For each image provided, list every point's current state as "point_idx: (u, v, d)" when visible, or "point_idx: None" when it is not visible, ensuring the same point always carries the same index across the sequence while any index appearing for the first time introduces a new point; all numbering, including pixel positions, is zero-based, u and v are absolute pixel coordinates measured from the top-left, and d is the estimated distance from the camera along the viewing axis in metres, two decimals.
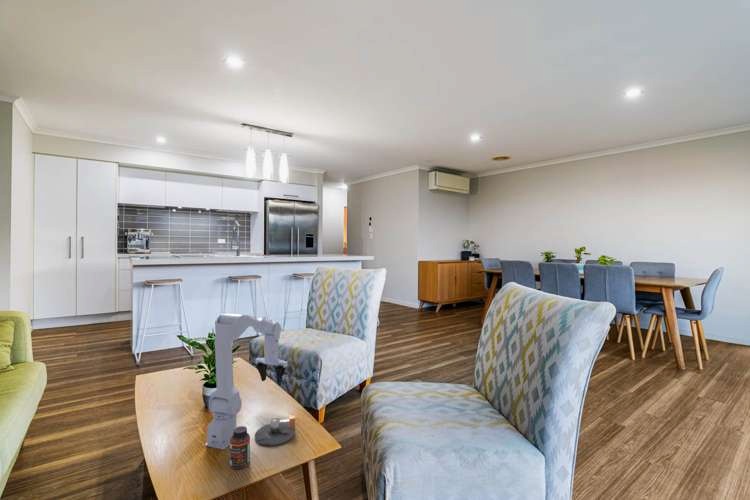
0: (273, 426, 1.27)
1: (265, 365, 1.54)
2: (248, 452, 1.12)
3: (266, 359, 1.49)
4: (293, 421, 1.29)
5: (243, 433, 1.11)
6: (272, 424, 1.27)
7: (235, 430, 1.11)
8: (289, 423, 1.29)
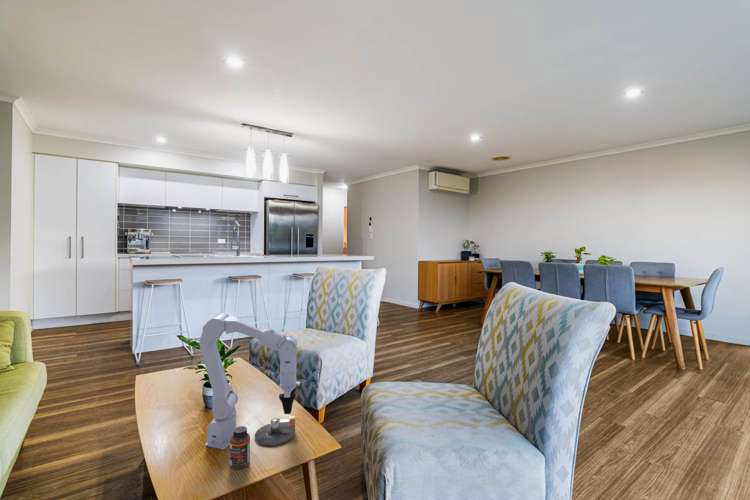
0: (273, 426, 1.27)
1: None
2: (248, 452, 1.12)
3: None
4: (293, 421, 1.29)
5: (243, 433, 1.11)
6: (272, 424, 1.27)
7: (235, 430, 1.11)
8: (289, 423, 1.29)
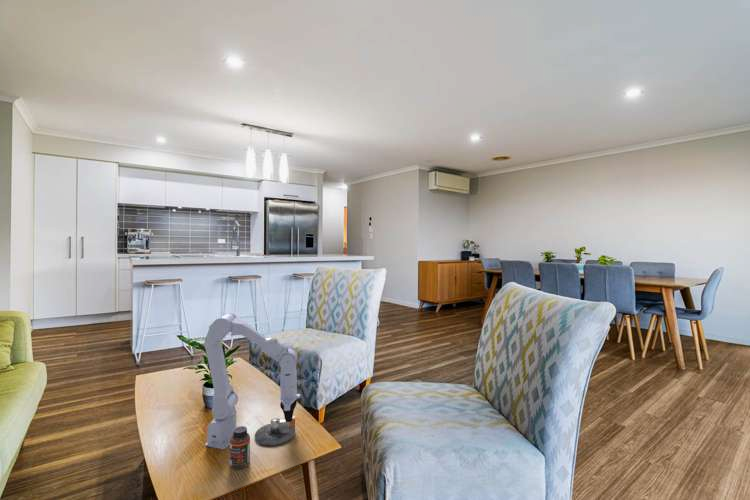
0: (273, 426, 1.27)
1: None
2: (248, 452, 1.12)
3: None
4: (293, 421, 1.29)
5: (243, 433, 1.11)
6: (272, 424, 1.27)
7: (235, 430, 1.11)
8: (289, 423, 1.29)
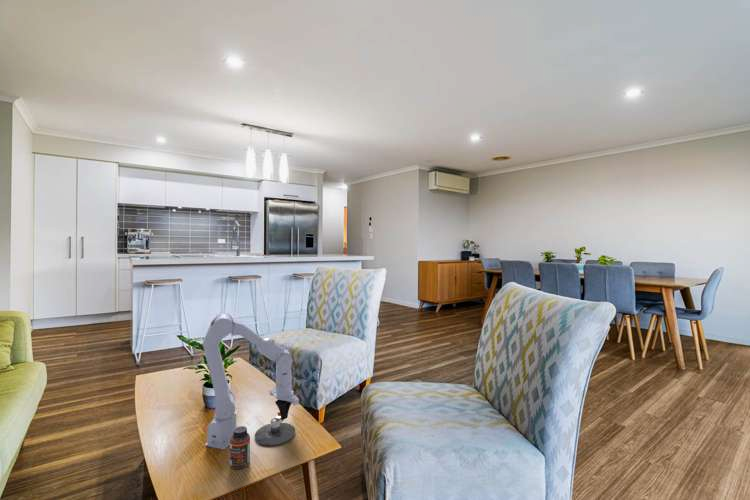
0: (278, 425, 1.28)
1: None
2: (248, 452, 1.12)
3: (277, 393, 1.31)
4: None
5: (243, 433, 1.11)
6: (278, 423, 1.28)
7: (235, 430, 1.11)
8: None
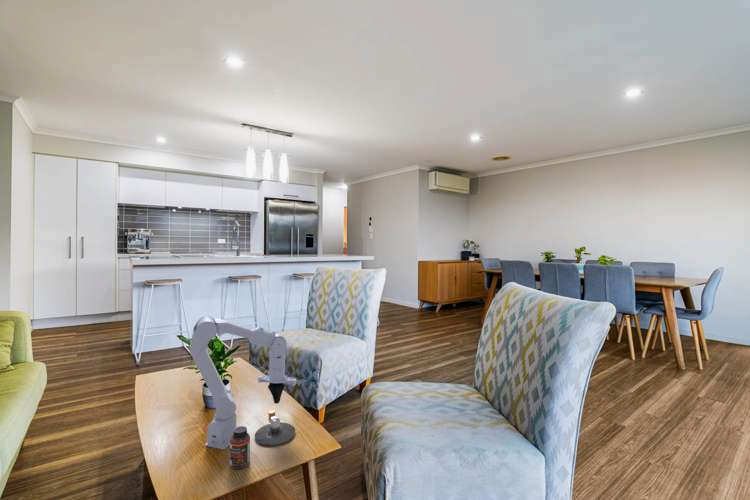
0: (279, 424, 1.29)
1: None
2: (248, 452, 1.12)
3: (272, 377, 1.31)
4: None
5: (243, 433, 1.11)
6: (279, 422, 1.29)
7: (235, 430, 1.11)
8: (274, 416, 1.34)
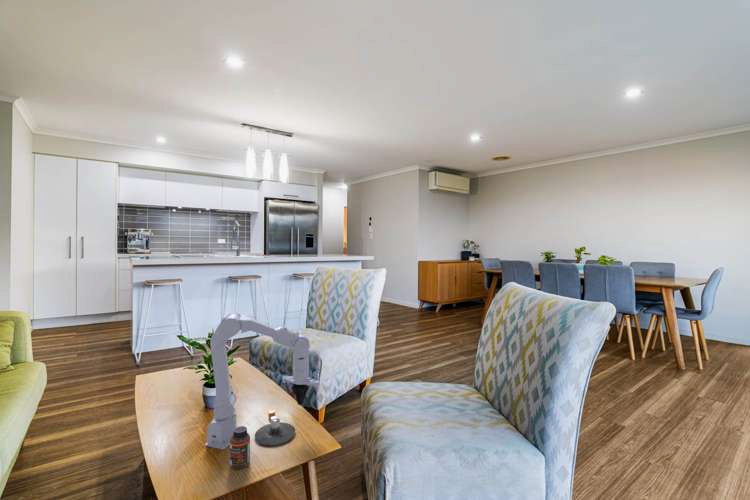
0: (279, 424, 1.29)
1: None
2: (248, 452, 1.12)
3: (295, 378, 1.30)
4: None
5: (243, 433, 1.11)
6: (279, 422, 1.29)
7: (235, 430, 1.11)
8: (274, 416, 1.34)
